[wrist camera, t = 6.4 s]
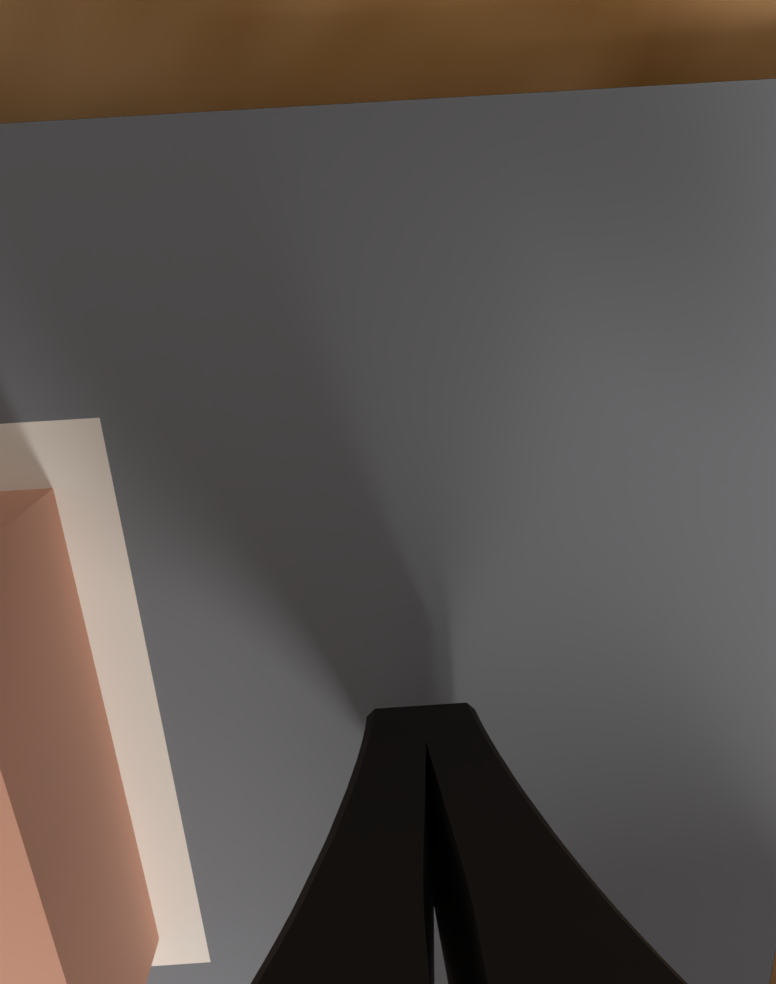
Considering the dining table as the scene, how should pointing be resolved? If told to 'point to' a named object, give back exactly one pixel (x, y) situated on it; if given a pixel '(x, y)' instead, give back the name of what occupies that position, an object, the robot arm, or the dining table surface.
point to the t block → (59, 777)
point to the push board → (416, 478)
